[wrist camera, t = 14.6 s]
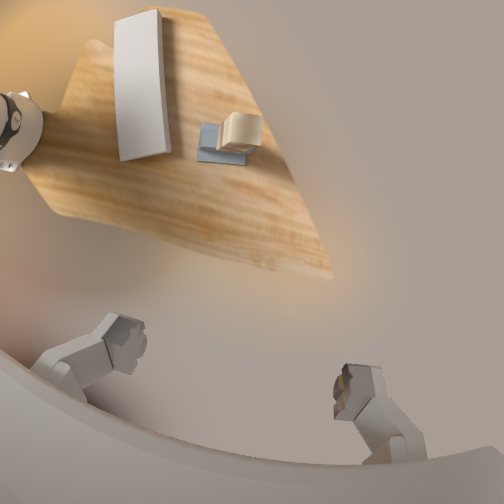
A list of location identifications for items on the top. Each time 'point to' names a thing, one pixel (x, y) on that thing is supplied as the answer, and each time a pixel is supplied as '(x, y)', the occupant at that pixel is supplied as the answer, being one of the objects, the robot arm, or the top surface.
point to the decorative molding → (140, 87)
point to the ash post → (239, 133)
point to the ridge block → (209, 148)
